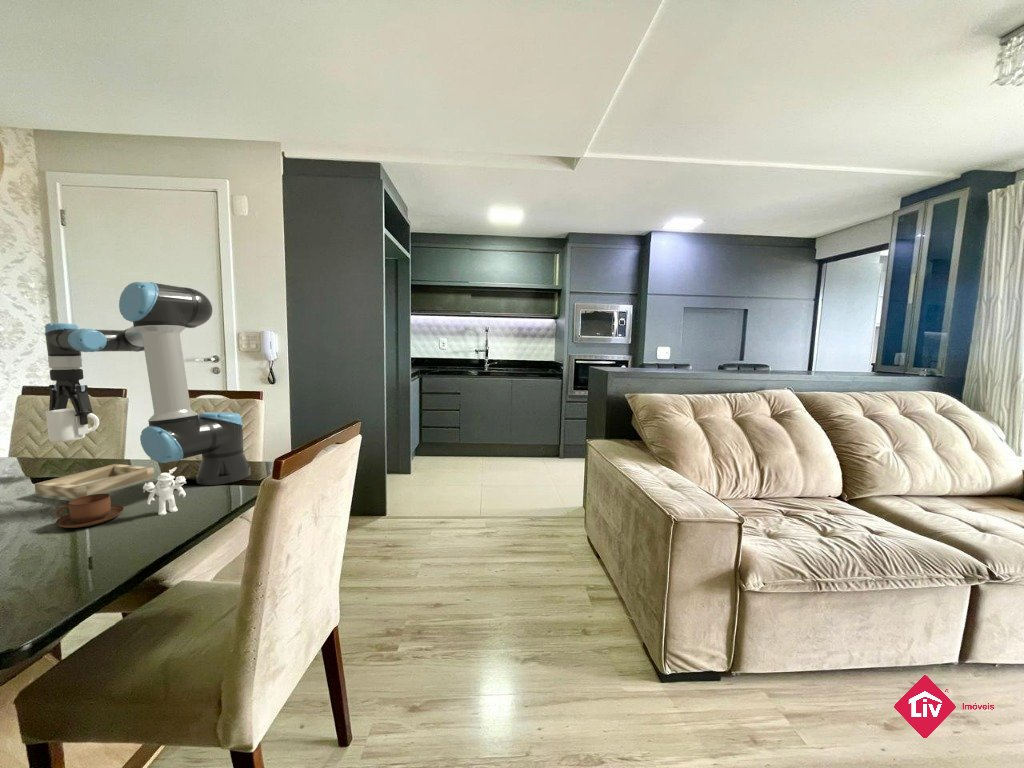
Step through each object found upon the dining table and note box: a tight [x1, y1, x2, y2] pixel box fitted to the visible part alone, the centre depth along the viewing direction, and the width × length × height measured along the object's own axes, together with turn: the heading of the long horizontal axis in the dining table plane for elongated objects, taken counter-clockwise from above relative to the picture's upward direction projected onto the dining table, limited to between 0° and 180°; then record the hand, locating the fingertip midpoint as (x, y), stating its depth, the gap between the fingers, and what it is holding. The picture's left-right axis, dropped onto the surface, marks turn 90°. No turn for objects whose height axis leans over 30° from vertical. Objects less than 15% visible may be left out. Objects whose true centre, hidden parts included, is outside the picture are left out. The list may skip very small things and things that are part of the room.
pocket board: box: [34, 463, 156, 502], centre depth 123 cm, size 17×20×4 cm
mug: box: [45, 407, 100, 443], centre depth 134 cm, size 12×8×10 cm
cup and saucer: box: [54, 493, 125, 529], centre depth 101 cm, size 12×12×6 cm
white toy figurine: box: [142, 466, 187, 516], centre depth 106 cm, size 9×4×12 cm, turn 144°
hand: (73, 433), depth 135 cm, fingers closed on mug, 8 cm apart
